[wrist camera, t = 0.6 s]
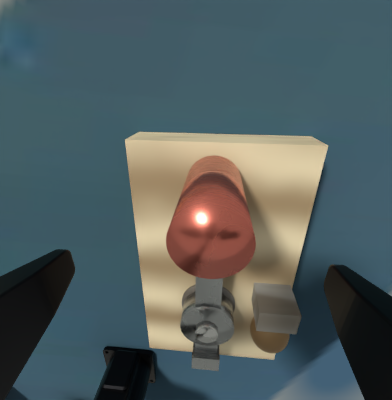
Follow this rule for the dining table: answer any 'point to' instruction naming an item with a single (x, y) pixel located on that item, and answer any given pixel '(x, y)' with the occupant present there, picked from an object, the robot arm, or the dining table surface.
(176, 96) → the dining table surface
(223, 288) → the block
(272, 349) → the walnut
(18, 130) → the dining table surface
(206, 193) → the lever
